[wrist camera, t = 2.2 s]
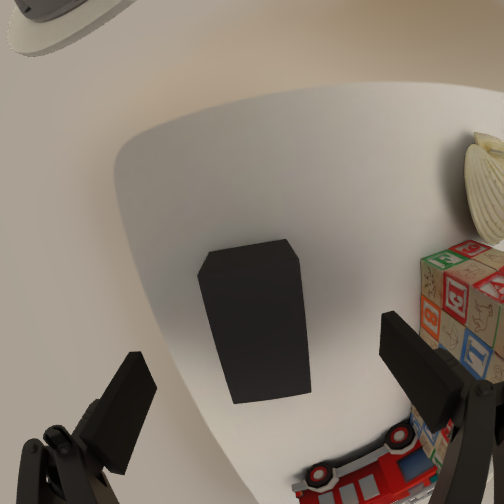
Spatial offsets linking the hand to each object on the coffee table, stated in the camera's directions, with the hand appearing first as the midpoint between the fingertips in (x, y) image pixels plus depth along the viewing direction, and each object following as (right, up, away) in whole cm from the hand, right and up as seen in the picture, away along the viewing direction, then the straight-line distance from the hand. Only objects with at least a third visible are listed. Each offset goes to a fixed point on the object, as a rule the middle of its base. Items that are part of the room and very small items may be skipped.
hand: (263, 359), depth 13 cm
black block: (0, +2, +5) cm, 6 cm away
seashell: (+18, +11, +3) cm, 21 cm away
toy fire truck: (+14, -20, +11) cm, 27 cm away
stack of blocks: (+18, -4, +7) cm, 20 cm away
